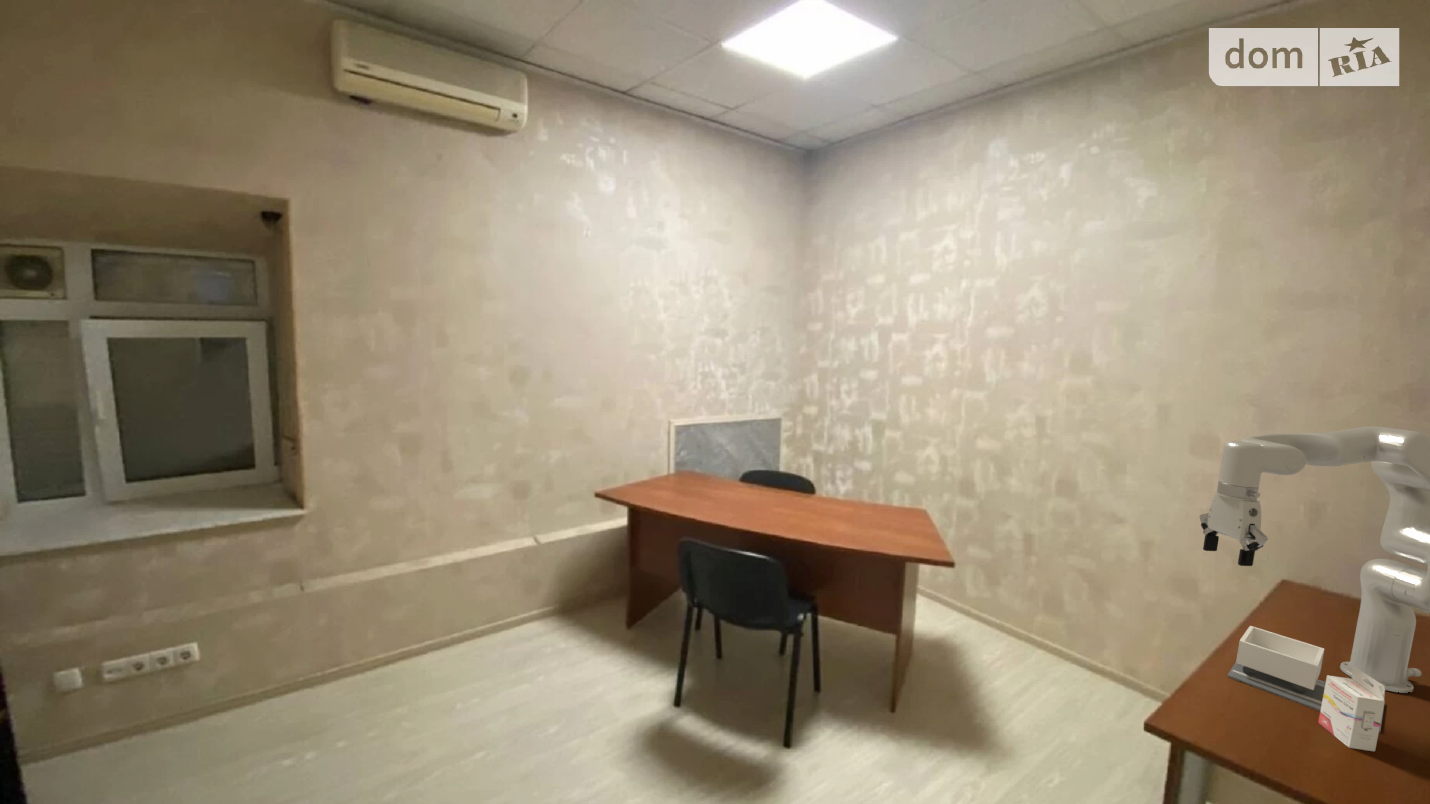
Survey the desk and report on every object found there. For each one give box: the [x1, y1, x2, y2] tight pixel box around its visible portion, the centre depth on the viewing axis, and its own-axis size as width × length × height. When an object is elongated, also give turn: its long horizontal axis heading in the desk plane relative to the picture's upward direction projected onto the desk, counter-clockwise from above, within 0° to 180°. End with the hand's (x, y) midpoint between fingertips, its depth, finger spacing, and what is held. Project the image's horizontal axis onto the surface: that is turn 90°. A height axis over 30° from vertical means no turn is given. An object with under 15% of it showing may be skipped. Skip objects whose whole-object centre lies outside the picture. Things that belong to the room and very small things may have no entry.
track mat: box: [1226, 662, 1385, 734], centre depth 145 cm, size 18×26×1 cm
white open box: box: [1235, 625, 1325, 694], centre depth 148 cm, size 14×14×8 cm
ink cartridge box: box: [1318, 667, 1386, 752], centre depth 126 cm, size 9×5×15 cm, turn 169°
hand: (1226, 557), depth 146 cm, fingers open, 9 cm apart
